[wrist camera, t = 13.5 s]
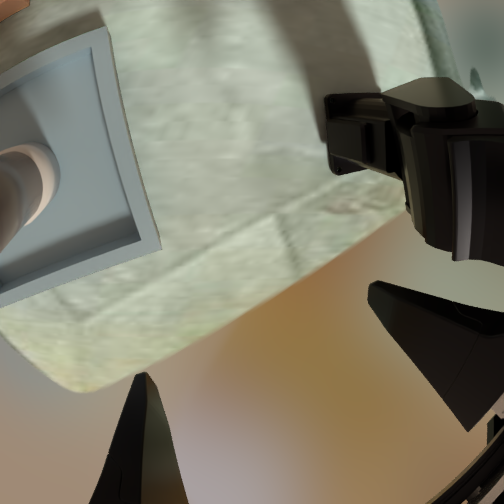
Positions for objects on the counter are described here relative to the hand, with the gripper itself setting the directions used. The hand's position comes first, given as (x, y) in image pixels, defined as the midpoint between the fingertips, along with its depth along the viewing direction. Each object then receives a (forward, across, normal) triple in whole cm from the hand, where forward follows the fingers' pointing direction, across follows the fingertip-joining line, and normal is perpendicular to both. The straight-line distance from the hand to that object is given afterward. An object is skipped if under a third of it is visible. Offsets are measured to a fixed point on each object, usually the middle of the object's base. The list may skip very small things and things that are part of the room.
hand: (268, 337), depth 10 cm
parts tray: (+12, +10, -7) cm, 17 cm away
